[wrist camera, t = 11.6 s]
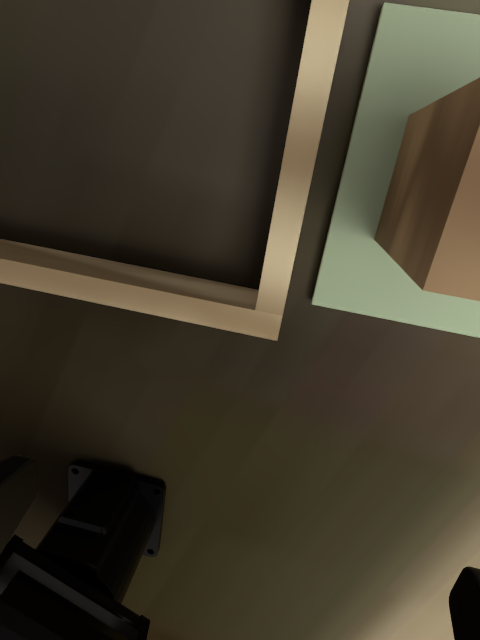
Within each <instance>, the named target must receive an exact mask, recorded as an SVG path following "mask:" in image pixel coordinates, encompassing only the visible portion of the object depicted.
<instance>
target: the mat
mask: <svg viewBox="0 0 480 640" xmlns="http://www.w3.org/2000/svg"><path fill="white" fill-rule="evenodd" d="M479 77H480V15H478V14H471V13H463V12H455V11H447V10H439V9H431V8H424V7H416V6H408V5H400V4H392V3H385V2H384V4H383V6H382V8H381V12H380V16H379V20H378V24H377V29H376V33H375V37H374V41H373V45H372V50H371V54H370V58H369V62H368V66H367V71H366V75H365V79H364V83H363V87H362V91H361V96H360V100H359V104H358V108H357V112H356V117H355V121H354V125H353V129H352V133H351V138H350V142H349V146H348V150H347V154H346V159H345V163H344V167H343V171H342V175H341V180H340V184H339V188H338V192H337V196H336V200H335V205H334V209H333V213H332V217H331V221H330V226H329V230H328V234H327V238H326V242H325V247H324V251H323V255H322V259H321V263H320V268H319V272H318V276H317V280H316V284H315V289H314V293H313V297H312V304H313V305H318V306H323V307H328V308H333V309H338V310H343V311H348V312H353V313H358V314H363V315H368V316H373V317H378V318H383V319H388V320H393V321H398V322H403V323H408V324H413V325H418V326H423V327H428V328H433V329H438V330H443V331H448V332H454V333H459V334H464V335H469V336H474V337H479V338H480V301H476V300H470V299H465V298H460V297H454V296H449V295H444V294H438V293H433V292H428V291H423V290H422V289H421V288H420V287H419V286H418V285H417V284H416V283H415V282H414V281H413V280H412V279H411V278H410V277H409V276H408V275H407V274H406V273H405V272H404V270H403V269H402V268H401V267H400V266H399V265H398V264H397V263H396V262H395V261H394V260H393V259H392V258H391V257H390V256H389V255H388V254H387V253H386V252H385V251H384V250H383V248H382V247H381V246H380V245H379V244H378V243H377V242H376V241H375V240H374V238H375V235H376V231H377V227H378V224H379V220H380V217H381V213H382V210H383V206H384V202H385V199H386V195H387V192H388V188H389V185H390V181H391V178H392V174H393V170H394V167H395V163H396V160H397V156H398V153H399V149H400V146H401V142H402V138H403V135H404V131H405V128H406V124H407V121H408V117H409V115H410V114H412V113H414V112H416V111H418V110H420V109H421V108H423V107H425V106H427V105H429V104H431V103H433V102H435V101H436V100H438V99H440V98H442V97H444V96H446V95H448V94H449V93H451V92H453V91H455V90H457V89H459V88H461V87H463V86H464V85H466V84H468V83H470V82H472V81H474V80H476V79H478V78H479Z"/></svg>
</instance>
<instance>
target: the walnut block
mask: <svg viewBox="0 0 480 640" xmlns="http://www.w3.org/2000/svg"><path fill="white" fill-rule="evenodd" d="M374 240H375V241H376V242H377V243H378V244H379V245H380V246H381V247H382V248H383V250H384V251H385V252H386V253H387V254H388V255H389V256H390V257H391V258H392V259H393V260H394V261H395V262H396V263H397V264H398V265H399V266H400V267H401V268H402V269H403V270H404V272H405V273H406V274H407V275H408V276H409V277H410V278H411V279H412V280H413V281H414V282H415V283H416V284H417V285H418V286H419V287H420V288H421V289H422V290H423V291H428V292H433V293H438V294H444V295H449V296H454V297H460V298H465V299H470V300H476V301H480V77H479V78H478V79H476V80H474V81H472V82H470V83H468V84H466V85H464V86H463V87H461V88H459V89H457V90H455V91H453V92H451V93H449V94H448V95H446V96H444V97H442V98H440V99H438V100H436V101H435V102H433V103H431V104H429V105H427V106H425V107H423V108H421V109H420V110H418V111H416V112H414V113H412V114H410V115H409V117H408V121H407V124H406V128H405V131H404V135H403V138H402V142H401V146H400V149H399V153H398V156H397V160H396V163H395V167H394V170H393V174H392V178H391V181H390V185H389V188H388V192H387V195H386V199H385V202H384V206H383V210H382V213H381V217H380V220H379V224H378V227H377V231H376V235H375V238H374Z"/></svg>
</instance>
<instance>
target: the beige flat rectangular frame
mask: <svg viewBox="0 0 480 640" xmlns="http://www.w3.org/2000/svg"><path fill="white" fill-rule="evenodd" d="M348 4H349V0H312V2H311V7H310V13H309V18H308V24H307V29H306V35H305V40H304V46H303V51H302V57H301V62H300V67H299V73H298V78H297V84H296V89H295V95H294V100H293V106H292V111H291V117H290V122H289V128H288V133H287V139H286V144H285V150H284V155H283V161H282V166H281V172H280V177H279V182H278V188H277V193H276V199H275V204H274V210H273V215H272V221H271V226H270V232H269V237H268V243H267V248H266V254H265V259H264V265H263V270H262V276H261V281H260V287H259V290H256V289H251V288H246V287H241V286H236V285H231V284H226V283H221V282H216V281H211V280H206V279H201V278H196V277H191V276H186V275H181V274H176V273H171V272H166V271H161V270H156V269H151V268H146V267H141V266H135V265H130V264H125V263H120V262H115V261H110V260H105V259H100V258H95V257H90V256H85V255H80V254H75V253H70V252H65V251H60V250H55V249H50V248H45V247H40V246H35V245H30V244H25V243H20V242H15V241H9V240H4V239H0V283H3V284H8V285H13V286H18V287H22V288H27V289H32V290H37V291H42V292H46V293H51V294H56V295H61V296H65V297H70V298H75V299H80V300H85V301H89V302H94V303H99V304H104V305H108V306H113V307H118V308H123V309H128V310H132V311H137V312H142V313H147V314H151V315H156V316H161V317H166V318H171V319H175V320H180V321H185V322H190V323H194V324H199V325H204V326H209V327H214V328H218V329H223V330H228V331H233V332H237V333H242V334H247V335H252V336H257V337H261V338H266V339H271V340H276V341H277V339H278V334H279V330H280V325H281V320H282V316H283V311H284V306H285V301H286V297H287V292H288V287H289V283H290V278H291V273H292V268H293V264H294V259H295V254H296V250H297V245H298V240H299V235H300V231H301V226H302V221H303V217H304V212H305V207H306V202H307V198H308V193H309V188H310V184H311V179H312V174H313V169H314V165H315V160H316V155H317V151H318V146H319V141H320V136H321V132H322V127H323V122H324V117H325V113H326V108H327V103H328V99H329V94H330V89H331V84H332V80H333V75H334V70H335V66H336V61H337V56H338V51H339V47H340V42H341V37H342V33H343V28H344V23H345V18H346V14H347V9H348Z"/></svg>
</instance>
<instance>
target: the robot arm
mask: <svg viewBox="0 0 480 640" xmlns="http://www.w3.org/2000/svg"><path fill="white" fill-rule="evenodd" d="M77 469H78V470H77ZM37 489H38V478H37V462H36V460H35V459H34V458H33V457H29V456H25V455H20V454H16V455H13V456H11V457H8V458H6V459H4V460H2V461H0V640H146V639H147V634H148V629H149V624H150V620H149V619H148V618H146V617H144V616H143V615H141V616H139V615H138V614H136V613H134V612H133V611H131V610H130V609H128V608H126V607H125V606H123V605H122V601H123V599H124V597H125V594H126V592H127V590H128V587H129V585H130V583H131V580H132V578H133V576H134V573H135V571H136V569H137V566H138V564H139V561H140V559H141V557H142V555H146V556H149V557H155V556H156V555H157V553H158V551H159V548H160V539H161V530H162V521H163V512H164V503H165V494H166V486H165V484H164V483H162V482H160V481H157V480H153V479H149V478H145V477H141V476H137V475H133V474H129V473H125V472H121V471H117V470H113V469H109V468H105V467H101V466H97V465H92V464H88V463H84V462H80V461H73V462H72V464H71V465H70V466H69V467H68V504H67V506H66V507H65V508H64V510H63V511H62V513H61V514H60V515H59V517H58V518H57V520H56V521H55V522H54V524H53V525H52V527H51V528H50V529H49V531H48V532H47V534H46V535H45V536H44V538H43V539H42V541H41V542H40V543H39V545H38V546H37V548H36V549H33V548H32V547H30V546H29V545H27V544H25V543H24V542H22V541H23V539H21V538H20V537H18V536H17V535H14V536H13V537H12V538H11V536H12V534H13V533H14V531H15V529H16V528H17V526H18V524H19V523H20V521H21V519H22V518H23V516H24V514H25V513H26V511H27V509H28V508H29V506H30V504H31V503H32V501H33V499H34V498H35V495H36V493H37ZM157 489H159V490H157ZM10 538H11V540H10V541H9V539H10ZM8 541H9V542H8ZM449 608H450V614H451V621H452V627H453V633H454V639H455V640H480V569H477V568H473V567H465V568H464V569H463V570H462V572H461V573H460V575H459V577H458V579H457V581H456V583H455V584H454V586H453V588H452V590H451V592H450V596H449Z"/></svg>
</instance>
